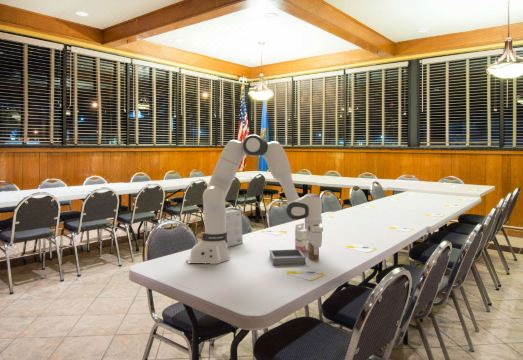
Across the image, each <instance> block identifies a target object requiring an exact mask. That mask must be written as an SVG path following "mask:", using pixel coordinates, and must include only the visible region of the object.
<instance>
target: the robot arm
mask: <svg viewBox="0 0 523 360" xmlns="http://www.w3.org/2000/svg"><path fill="white" fill-rule="evenodd" d="M245 156H250V157H259V156H261V157H263V159H264V160H265V163H266V165H267V168H268V171H269V172H270V174H271V177H273V179H275V181H276V182H278V183H279V184H280V186H281V188H282V190H283V192H284V193H283V194H285V198H286V202H287V204H286V214H287V216H288V218H290V219H291V220H301V219H304V228H305V229H306V238H307V240H308V241H309V243H311V244H312V245H313V246H314V250H313V252H314V254H315V255H317V254H318V247H319V248H321V246H322V242H323V232H324V226H323V218H322V212H323V206H322V205H323V203H322V199H321V197H320V196H319V195H318V194H316V193H315V194H314V193H306V194H305V195H304V196H302V197H300V195H299V194H298V192H297V188H296V186H295V185H294V182H293V177H292V176H293V175H292V169H291V164H290V161H289V158H288V155H287V154H286V151H285V149H284V147H283V146H282V145H281V143H280V141H279V142H278V141H276V140H275V141H269V142H268V141H266V140H265V139H264V138H263V137H261V135H258V134H253V133H252V134H249V135H246V137H245V138H244V139H243V141H240V140H237V139H232V140H231V139H230V140H229V141H228V142H227V143H226V145H225V146H224V148H223V150H222V151H221V154H220V155H219V157H218V161H216V164H215V167H214V169H213V172H212V174H211V176H210V180H209V183H208V185H207V187H206V189H204V191H203V193H202V204H203V205H202V206H203V213H204V214H203V216H204V231H201V233H200V237H201V238H200V239H201V240H199V241H198V242H197V243H196V244H194V246H193V247H192V248H191V250H190V255H188V256H187V257H186V263H187V262H190V263H205V265H206V263H210V264H209V265H215V264H216V265H217V264H221V263H223V262H227V261H229V260H231V256H230V252H229V247H228V246H227V241H228V234H227V231H226V211H227V210H226V197H227V195H228V192H229V191H230V189H231V186H232V184H233V181H234V179H235V177H236V175H237V173H238V170H239V168H240V166H241V163H242V160H243V159H244V157H245ZM190 263H189V264H190Z"/></svg>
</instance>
